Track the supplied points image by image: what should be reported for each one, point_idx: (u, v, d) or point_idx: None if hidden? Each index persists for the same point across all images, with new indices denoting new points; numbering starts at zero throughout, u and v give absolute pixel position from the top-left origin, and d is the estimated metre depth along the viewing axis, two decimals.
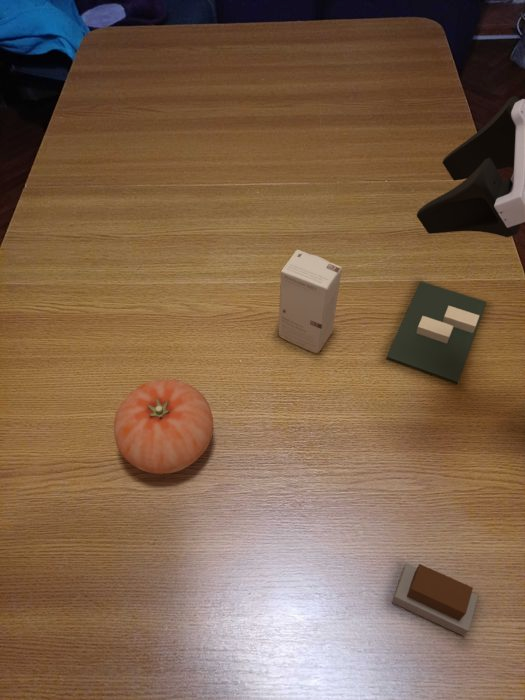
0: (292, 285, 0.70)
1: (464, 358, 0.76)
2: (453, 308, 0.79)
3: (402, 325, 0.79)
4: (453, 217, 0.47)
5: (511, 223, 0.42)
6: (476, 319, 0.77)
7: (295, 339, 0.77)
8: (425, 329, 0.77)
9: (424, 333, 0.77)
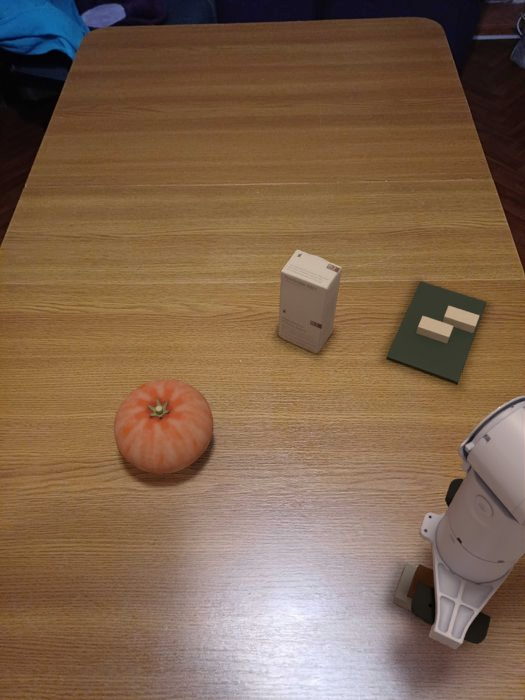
0: (292, 285, 0.70)
1: (464, 358, 0.76)
2: (453, 308, 0.79)
3: (402, 325, 0.79)
4: None
5: (453, 647, 0.43)
6: (476, 319, 0.77)
7: (295, 339, 0.77)
8: (425, 329, 0.77)
9: (424, 333, 0.77)
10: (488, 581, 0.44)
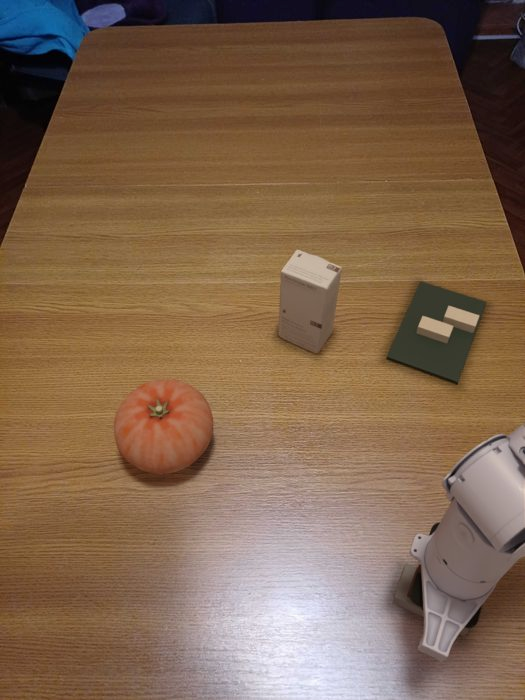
0: (292, 285, 0.70)
1: (464, 358, 0.76)
2: (453, 308, 0.79)
3: (402, 325, 0.79)
4: None
5: (440, 659, 0.47)
6: (476, 319, 0.77)
7: (295, 339, 0.77)
8: (425, 329, 0.77)
9: (424, 333, 0.77)
10: (472, 598, 0.48)
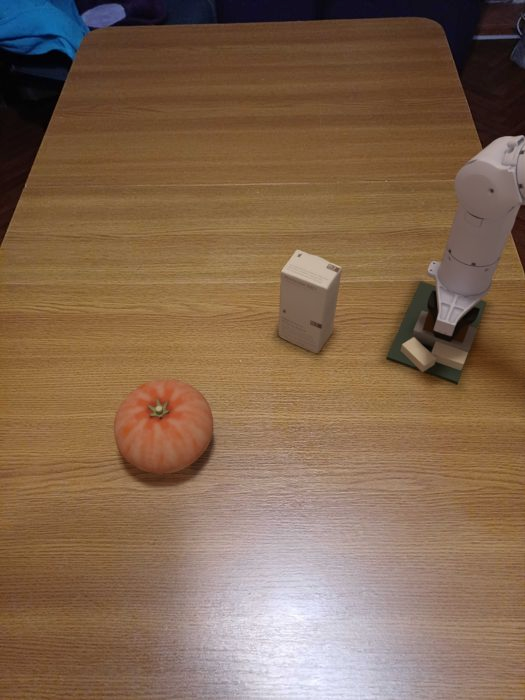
0: (292, 285, 0.70)
1: None
2: (441, 344, 0.75)
3: (402, 325, 0.79)
4: None
5: (449, 333, 0.65)
6: (464, 356, 0.74)
7: (295, 339, 0.77)
8: (407, 349, 0.75)
9: (406, 353, 0.76)
10: (473, 294, 0.66)
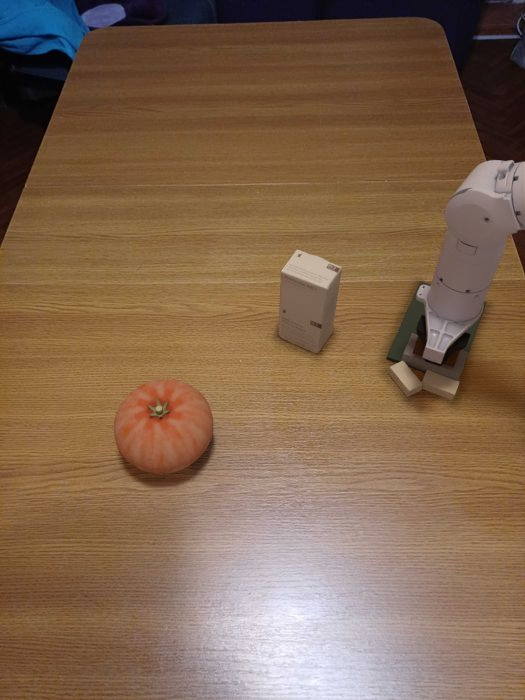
0: (292, 285, 0.70)
1: None
2: (432, 373, 0.74)
3: (402, 325, 0.79)
4: None
5: (439, 360, 0.63)
6: (456, 386, 0.72)
7: (295, 339, 0.77)
8: (394, 373, 0.74)
9: (393, 376, 0.74)
10: (463, 320, 0.64)
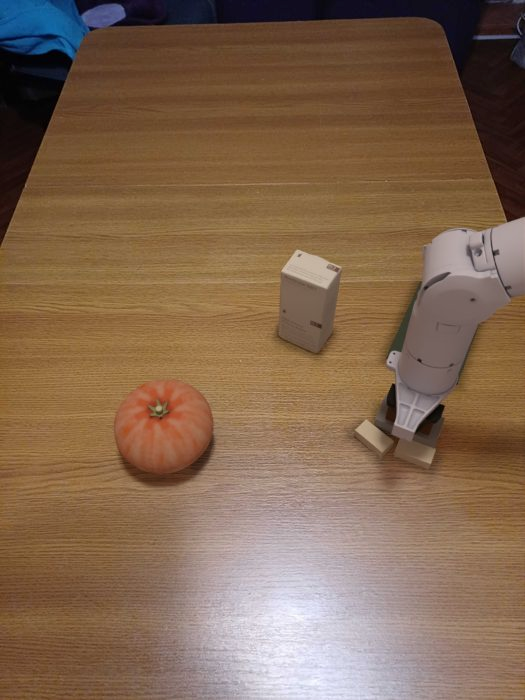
0: (292, 285, 0.70)
1: (464, 358, 0.76)
2: None
3: (402, 325, 0.79)
4: None
5: (409, 439, 0.58)
6: (432, 454, 0.67)
7: (295, 339, 0.77)
8: (361, 435, 0.69)
9: (360, 438, 0.69)
10: (436, 393, 0.59)
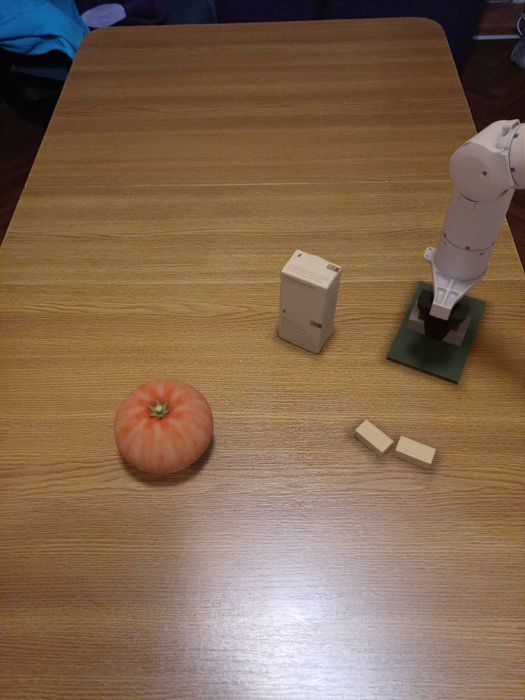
0: (292, 285, 0.70)
1: (464, 358, 0.76)
2: (406, 439, 0.68)
3: (402, 325, 0.79)
4: (439, 326, 0.72)
5: (445, 317, 0.66)
6: (432, 454, 0.67)
7: (295, 339, 0.77)
8: (361, 435, 0.69)
9: (360, 438, 0.69)
10: (468, 278, 0.67)
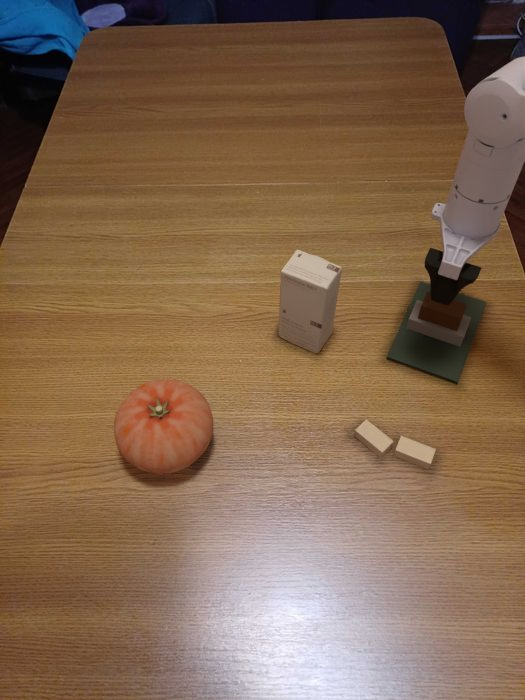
0: (292, 285, 0.70)
1: (464, 358, 0.76)
2: (406, 439, 0.68)
3: (402, 325, 0.79)
4: (447, 288, 0.67)
5: (455, 276, 0.61)
6: (432, 454, 0.67)
7: (295, 339, 0.77)
8: (361, 435, 0.69)
9: (360, 438, 0.69)
10: (480, 236, 0.62)
